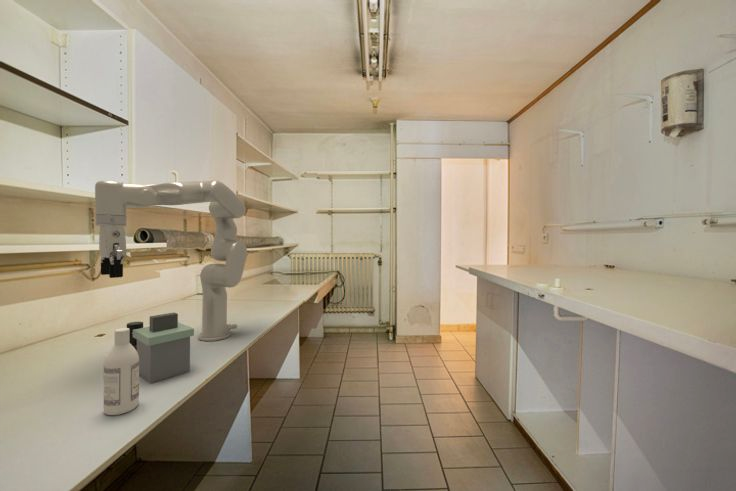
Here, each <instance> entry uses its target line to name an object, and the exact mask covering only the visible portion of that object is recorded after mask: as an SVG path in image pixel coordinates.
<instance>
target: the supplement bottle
mask: <svg viewBox="0 0 736 491" xmlns="http://www.w3.org/2000/svg"><path fill="white" fill-rule="evenodd" d="M125 328H129V329H130V338H129V343H130V344H131V345H132V346H133V347H134V348H135V349H136V351H137V339H135V338H134V337H133V330H134V329H140V328H144V322H143V321H131V322H128V323H126V327H125Z"/></svg>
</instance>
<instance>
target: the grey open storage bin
mask: <svg viewBox="0 0 736 491" xmlns="http://www.w3.org/2000/svg"><path fill="white" fill-rule="evenodd" d="M137 353H138V356H139V377H140V378H142V379H144V380H145V381H146V382H148V384H153V383H156V382H160V381H162V380H166V379H169V378H172V377H175V376H179V375H182V374H185V373H188V372H190V371H191V336H190V337H186V338H182V339H177V340H173V341H168V342H164V343H160V344H155V345H151V346H148V345H146V344H144V343H142V342H141V341H139V340H137Z"/></svg>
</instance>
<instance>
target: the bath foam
mask: <svg viewBox="0 0 736 491" xmlns="http://www.w3.org/2000/svg"><path fill="white" fill-rule="evenodd" d="M129 338H130V329H129V328H126V327H121V328H117V329H115V330H114V345H113V346H112V347H111V348H110V350H109V352H108V353H107V355H106V356H105V359H104V364H103V414H105V415H107V416H118V415H123V414H126V413H128V412H131V411H132V410H134V409H135V408H137V406H138V405H139V403H140V400H139V399H140V376H139V356H138V353H137V351H136V349H135V348H134V347H133V346H132V345H131V344H130V343H129Z"/></svg>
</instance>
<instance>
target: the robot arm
mask: <svg viewBox="0 0 736 491" xmlns="http://www.w3.org/2000/svg"><path fill="white" fill-rule="evenodd" d="M94 188H95V189H94V195H95V196H94V202H95V203H94V206H95V207H94V208H95V209H94V210H95V213H94V214H95V215H94V216H95V217H94V218H95V219H94V220H95V222H94V224H95V225H94V226H96V227H97V226H99V231H98V232H99V233H98V235H99V237H98V238H99V239H98V240H99V241H98V245H99V246H98V248H99V250H98V251H99V252H98V253H99V256H100V257H101V258H100V274H101V276H105V275H108V277H109V278H110V279H116V278H122V277H123V276H124V261H123V259H124V258H126V257H127V240H126V231H125V227H127V208H128V209H129V208H132V209H133V208H137V209H138V208H148V207H151V206H180V205H181V206H182V205H191V204H193V205H194V204H203V203H209V204H208V210H209V214H210V215H211V217H212V218H213V220H214V222H215V225H216V226H215V227H216V230H215V234H214V238H213V241H212V245H211V248H210V257H211V258H212V259H213V260H214V261H217V262H224V263H225V264H223V263H209V264H206V265H204V266H203V268H202V269H201V271H200V276H199V278H200V284H201V289H202V290H201V291H202V309H201V310H202V316H201V318H202V319H201V320H202V321H201V322H202V323H201V326H202V328H201V332H200V333H199V334H198V335H197V339H198V340H199V341H203V342H215V341H220V340H224V339H227V338H229V337H230V336H231V330H235V329H237V328H238V324H237V323H235V324H230V323H229V324H228V321H227V320H228V293H227V289H226V288H234V287H237V286H238V285H239V283H240V282H241V280H242V278H243V273H244V270H245V265H246V262H247V258H248V248H247V246H246V244H245V243H244V242H243V241H241V240H238V239H237V235H238V229H237V225H236V222H235V221H234V219H240V218H242V217H244V215H245V214H246V211H247V209H246V204H245V203H244V201H243V200H242V199H241V198H240V197H239V196H238V195H237V194H236V193H235V192H234V191H233V190H232V189H231V188H230V187H229V186H228V185H226V184H225V183H223V182H222V181H219V180H206V181H204V180H203V181H202V180H201V181H174V182H164V183H157V184H156V183H155V184H134V183H133V184H130V183H129V184H128V183H122V182H119V181H115V180H114V181H113V180H112V181H111V180H100V181H97V182H96V183H95V184H94ZM236 239H237V240H236Z"/></svg>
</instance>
